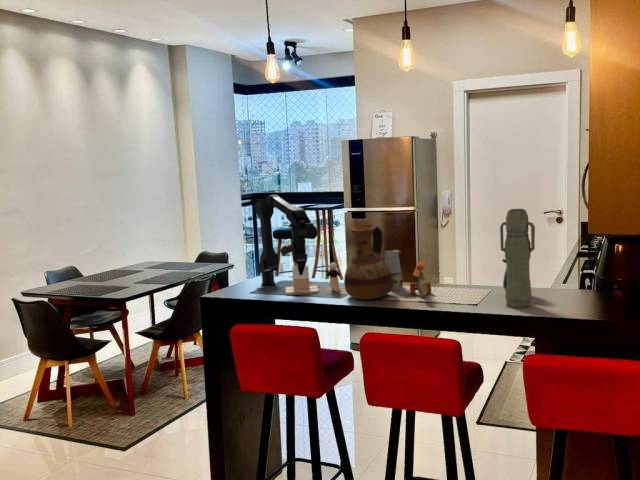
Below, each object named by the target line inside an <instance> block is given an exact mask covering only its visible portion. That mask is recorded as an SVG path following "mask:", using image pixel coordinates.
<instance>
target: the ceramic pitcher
mask: <svg viewBox="0 0 640 480" xmlns="http://www.w3.org/2000/svg"><path fill="white" fill-rule="evenodd" d="M349 231H350V232H351V233H352V234H353V235H354V236H355V237H356V238H355V239H356V242H357V243H356V244H357V251H356V254H355V255H354V256H353V257H352V259H350V261H349V263H348V264H347V266H346V269H345V272H344V273H345V274H344V277H343V279H344V280H343V282H344V289H345V292H346V293H347V295H349V296H350V297H352V298H355V299H359V300H372V299H373V300H374V299H377V298H380V297H384V296H385V295H388V294H390V293H391V292H392V291H393V290H392V289H393V276H392V273H391V271H390V269H389V267H388V265H387V264H386V262H385V259H383V258H382V256H381V255H382V248H383V231H382V229H381V228H380V227H379V226H378V225H376V224H373V223H366V224H359V225H358V224H357V225H356V226H352V227H350V228H349Z"/></svg>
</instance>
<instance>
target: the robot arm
mask: <svg viewBox="0 0 640 480" xmlns="http://www.w3.org/2000/svg"><path fill="white" fill-rule="evenodd" d="M275 208H276V209H277V210H278V211H280V212H282V213H283V214H284V215H285V218H286V219H287V220H288V221H289V223H290V224H289V225H288V228H290V229H291V230H290V231H291V243H289V244H287V245H283V246H282V247H280V248H279V251H280V254H281V256H282V257H285V256H286V255H288V254H291V255H292V261H293V262H294V263H295V264H296V266H298V270H299V274H300V275H302V274H303V271H304V268H305V265H306V264H307V262H308V253H307V249H306V240H315V239H316V238H317V237H318V234H319V231H318V228H317V227H316V226H315V224H314V222H311V219H310V218H309V216H308V214H307V212H306V210H305V209H304V208H302V207H299V206H293V205H292V204H291V203H289V202H287V201H286V200H285V199H283V198H282V197H280V196H279V195H278V194H271V195H268V196H266V197H265V198H262V199H260V200H258V201H256V202H255V203H254V210H255V214H256V216H257V218H258V219H259V221H260V233H261V234H260V235H261V242H262V243H261V244H262V246H261V247H262V251H261V253H260V256H259V263H258V265H257V267H256V271H257V273H259V274H261V285H260V286H262V287H263V286H276V281H275V274H274V273H275V272H276V271H279V270H278V269H279V263H280V259H279V253H278V252H276V251H275V249H274V240H273V229H272V217H273V215H274V209H275Z"/></svg>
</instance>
